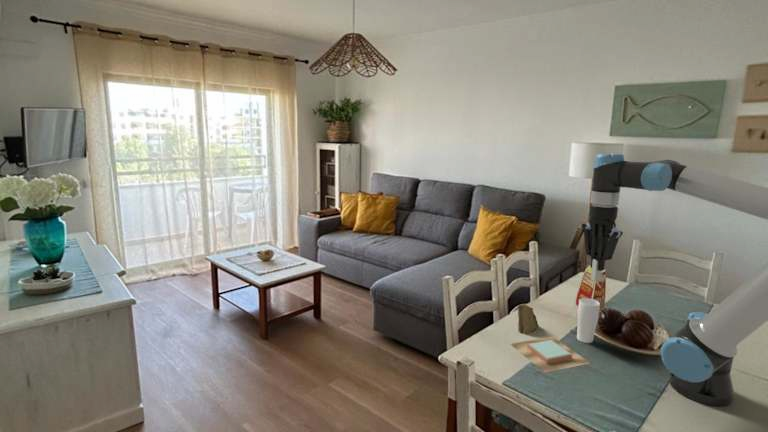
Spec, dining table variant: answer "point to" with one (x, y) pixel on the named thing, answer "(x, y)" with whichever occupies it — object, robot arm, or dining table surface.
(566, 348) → the mat
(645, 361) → the dining table surface
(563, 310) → the dining table surface
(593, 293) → the milk carton
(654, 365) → the dining table surface
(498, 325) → the dining table surface
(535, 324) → the rock
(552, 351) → the tile
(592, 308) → the drinking glass
